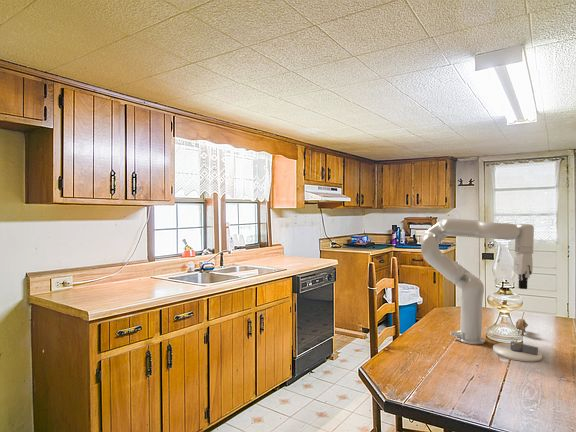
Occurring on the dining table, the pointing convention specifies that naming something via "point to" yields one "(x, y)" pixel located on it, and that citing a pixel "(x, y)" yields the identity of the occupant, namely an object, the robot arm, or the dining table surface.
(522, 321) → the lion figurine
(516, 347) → the dark gray block
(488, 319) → the dining table surface
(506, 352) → the plate
